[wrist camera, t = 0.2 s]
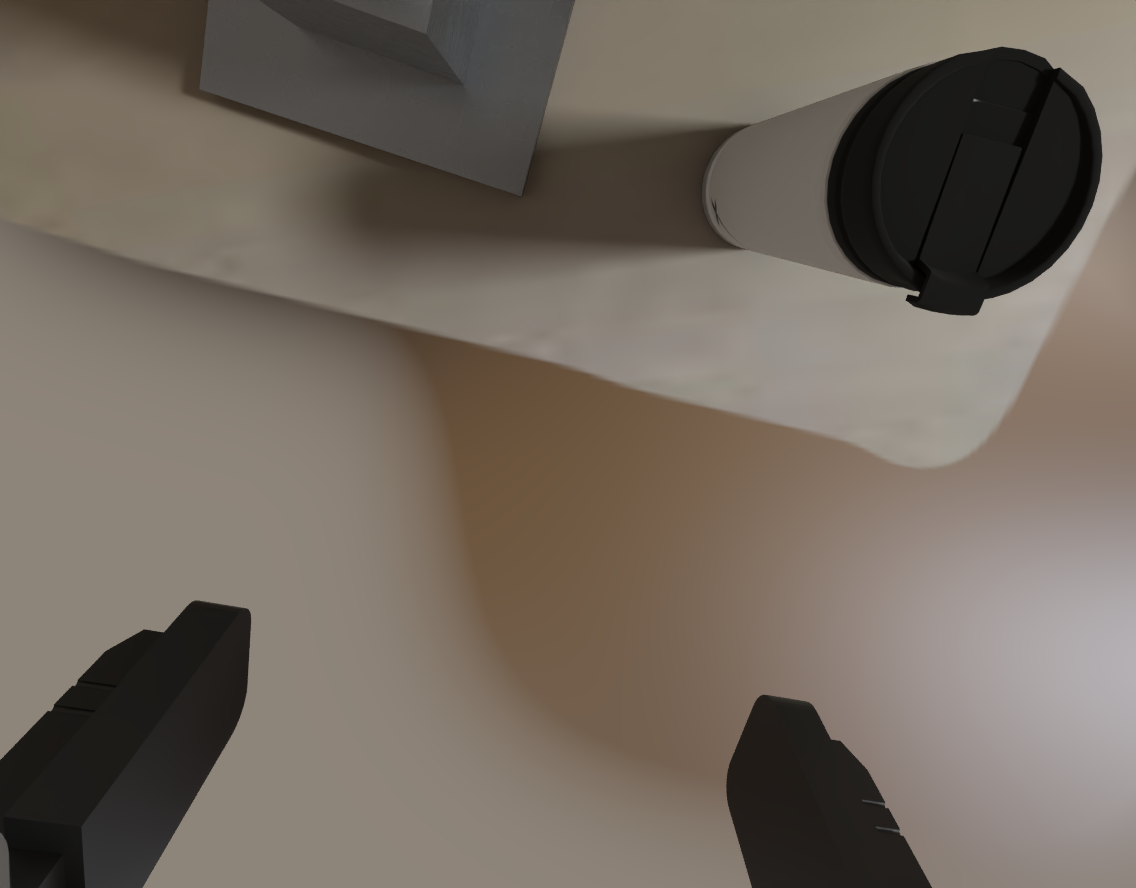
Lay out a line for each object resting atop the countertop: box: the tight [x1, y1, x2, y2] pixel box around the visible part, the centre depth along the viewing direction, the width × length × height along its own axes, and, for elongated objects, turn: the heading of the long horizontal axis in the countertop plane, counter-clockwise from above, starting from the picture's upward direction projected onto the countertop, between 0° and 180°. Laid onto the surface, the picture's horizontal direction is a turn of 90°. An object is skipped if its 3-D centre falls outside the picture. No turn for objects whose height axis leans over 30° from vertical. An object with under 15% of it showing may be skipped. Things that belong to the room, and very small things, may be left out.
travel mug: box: [702, 47, 1102, 316], centre depth 26 cm, size 6×7×20 cm
